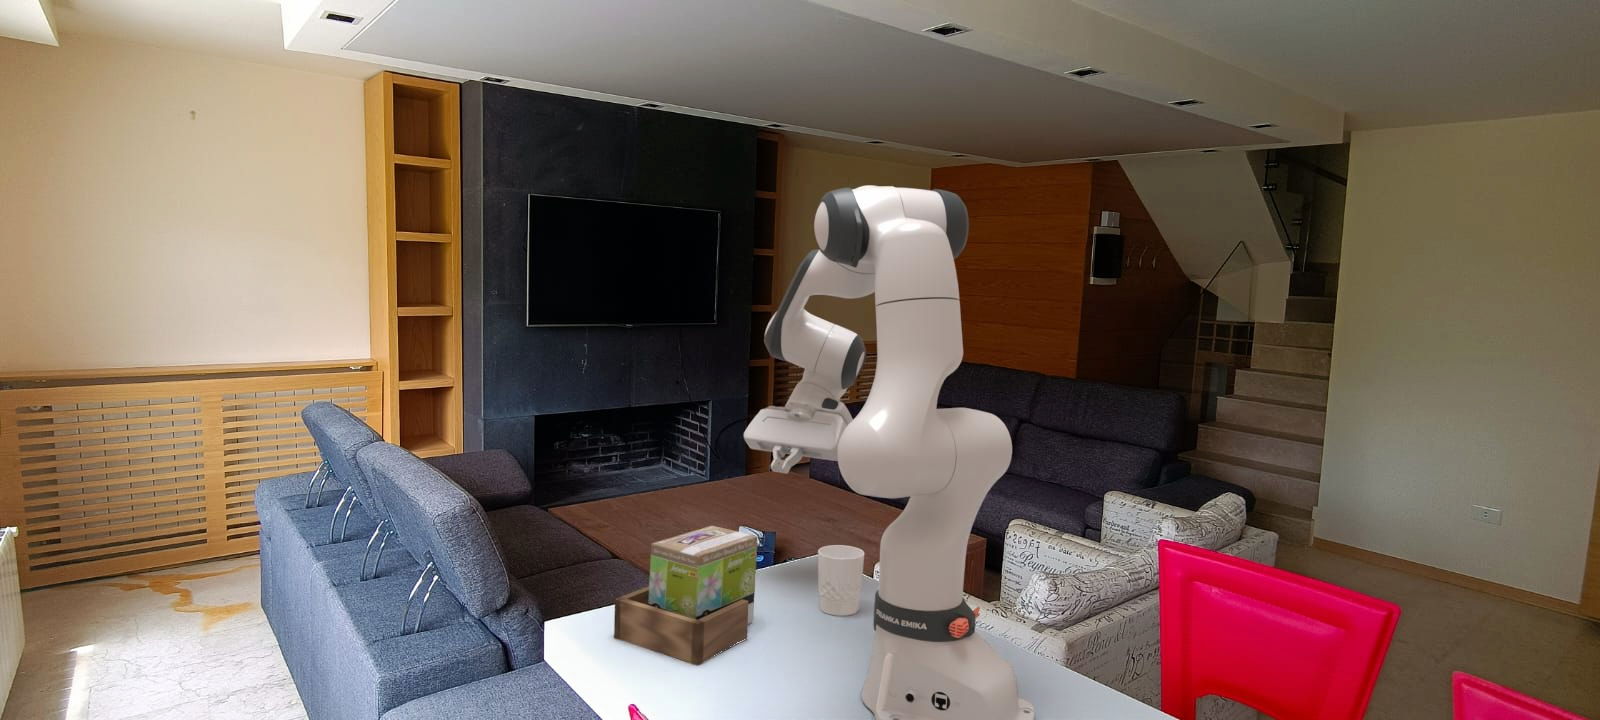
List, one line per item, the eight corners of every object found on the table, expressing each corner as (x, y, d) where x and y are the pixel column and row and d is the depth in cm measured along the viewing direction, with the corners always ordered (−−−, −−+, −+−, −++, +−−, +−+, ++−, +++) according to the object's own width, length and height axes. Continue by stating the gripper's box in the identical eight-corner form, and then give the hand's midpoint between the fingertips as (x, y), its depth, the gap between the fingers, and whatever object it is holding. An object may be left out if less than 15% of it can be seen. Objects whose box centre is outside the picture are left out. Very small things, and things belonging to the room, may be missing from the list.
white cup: (806, 609, 148) (809, 552, 147) (831, 597, 154) (834, 542, 153) (846, 621, 143) (848, 561, 142) (870, 608, 150) (873, 551, 149)
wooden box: (747, 638, 134) (748, 600, 134) (697, 665, 124) (698, 624, 124) (666, 614, 143) (667, 578, 143) (614, 637, 133) (614, 599, 133)
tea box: (695, 653, 129) (698, 555, 127) (645, 636, 134) (647, 542, 133) (755, 623, 141) (758, 533, 140) (707, 608, 147) (710, 522, 146)
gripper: (757, 394, 164) (724, 452, 157) (851, 404, 153) (821, 467, 146) (769, 415, 169) (738, 473, 161) (862, 426, 158) (833, 489, 150)
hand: (778, 470), depth 153 cm, fingers closed
